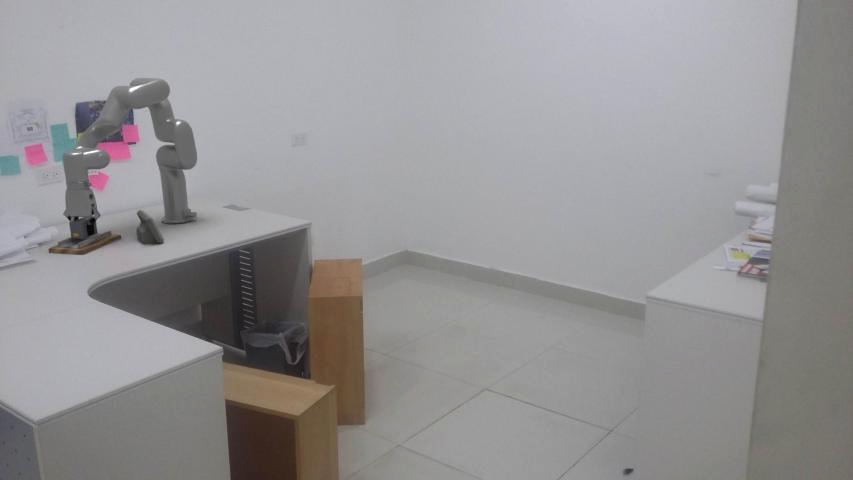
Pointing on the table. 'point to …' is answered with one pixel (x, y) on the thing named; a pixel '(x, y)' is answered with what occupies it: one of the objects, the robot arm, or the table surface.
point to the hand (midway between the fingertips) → (84, 233)
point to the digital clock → (148, 229)
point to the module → (80, 228)
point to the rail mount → (84, 243)
